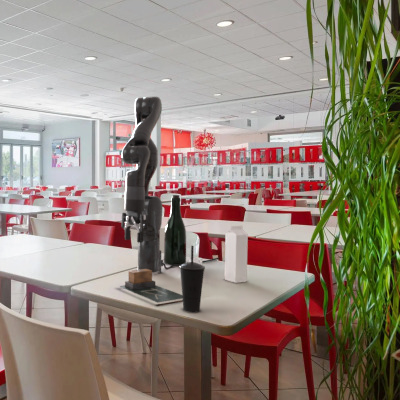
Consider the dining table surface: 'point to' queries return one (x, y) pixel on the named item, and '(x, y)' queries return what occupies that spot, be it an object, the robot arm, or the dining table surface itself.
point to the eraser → (140, 279)
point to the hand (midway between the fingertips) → (133, 241)
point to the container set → (196, 260)
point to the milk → (236, 255)
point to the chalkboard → (157, 294)
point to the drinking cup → (191, 284)
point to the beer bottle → (175, 235)
